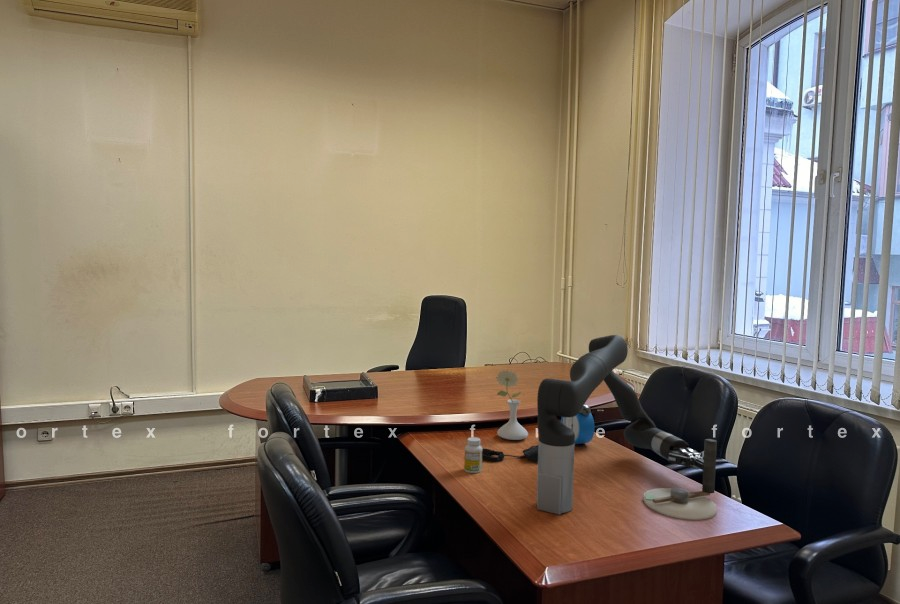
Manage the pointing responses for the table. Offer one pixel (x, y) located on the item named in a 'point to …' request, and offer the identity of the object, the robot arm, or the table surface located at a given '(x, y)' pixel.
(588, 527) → the table surface
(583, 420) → the alarm clock
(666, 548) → the table surface
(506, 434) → the flower in vase
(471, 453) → the supplement bottle
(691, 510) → the plate
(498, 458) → the computer mouse
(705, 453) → the dial
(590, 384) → the robot arm
